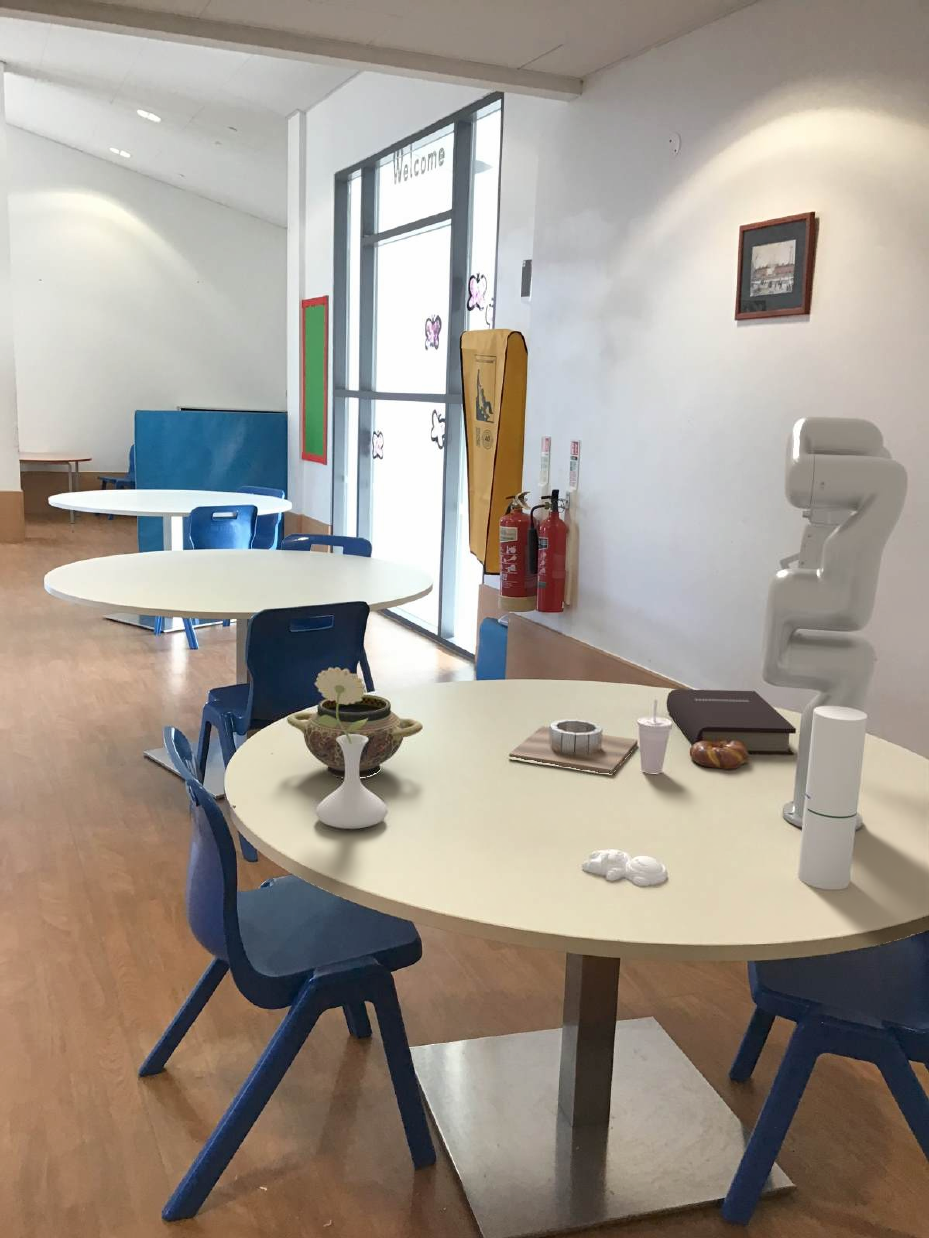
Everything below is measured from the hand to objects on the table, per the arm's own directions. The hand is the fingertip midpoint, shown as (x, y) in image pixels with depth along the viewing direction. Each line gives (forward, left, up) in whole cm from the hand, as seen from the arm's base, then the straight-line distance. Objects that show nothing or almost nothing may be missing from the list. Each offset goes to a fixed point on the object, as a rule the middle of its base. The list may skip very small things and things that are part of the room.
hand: (822, 605), depth 210 cm
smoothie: (-28, +26, -29) cm, 48 cm away
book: (+3, +17, -30) cm, 34 cm away
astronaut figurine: (-73, +20, -30) cm, 81 cm away
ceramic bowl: (-53, +75, -29) cm, 96 cm away
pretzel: (-16, +15, -29) cm, 37 cm away
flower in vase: (-74, +65, -29) cm, 103 cm away
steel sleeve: (-24, +42, -28) cm, 56 cm away
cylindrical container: (-63, -7, -29) cm, 70 cm away
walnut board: (-24, +42, -29) cm, 56 cm away
